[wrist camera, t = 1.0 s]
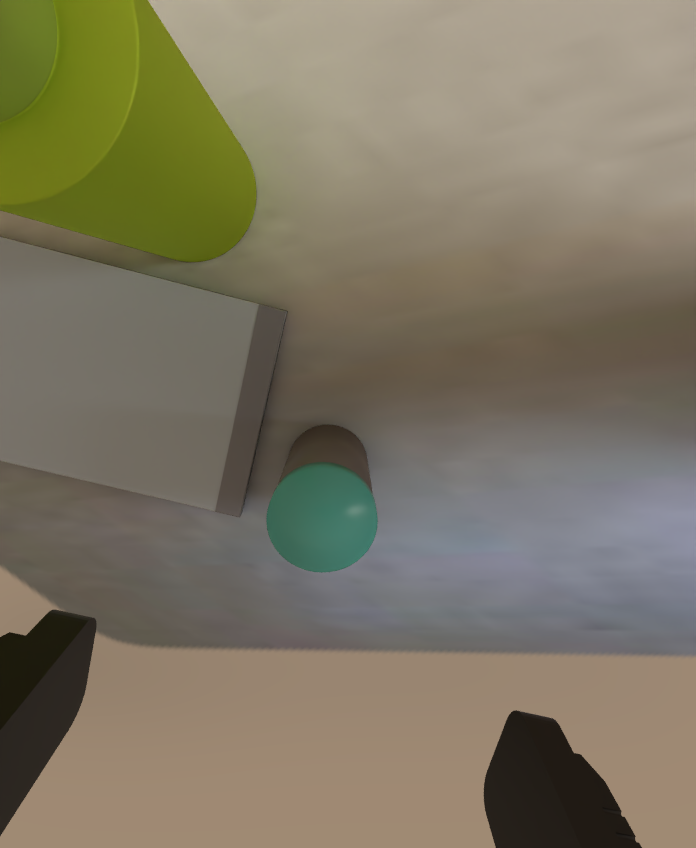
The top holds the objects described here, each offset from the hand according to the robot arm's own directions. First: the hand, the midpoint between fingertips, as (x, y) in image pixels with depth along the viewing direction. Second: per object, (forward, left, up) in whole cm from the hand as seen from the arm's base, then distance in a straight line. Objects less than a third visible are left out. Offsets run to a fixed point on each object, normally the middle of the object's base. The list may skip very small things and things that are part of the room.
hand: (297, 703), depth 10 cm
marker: (0, 0, -16) cm, 16 cm away
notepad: (+10, -2, -16) cm, 19 cm away
